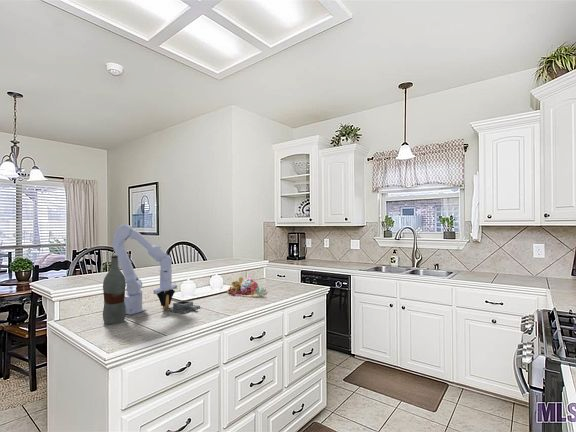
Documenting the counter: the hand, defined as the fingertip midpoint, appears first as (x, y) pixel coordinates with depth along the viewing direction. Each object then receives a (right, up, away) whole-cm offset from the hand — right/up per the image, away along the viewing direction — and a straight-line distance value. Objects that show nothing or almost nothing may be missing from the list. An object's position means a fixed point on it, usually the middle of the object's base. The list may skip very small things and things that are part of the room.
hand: (165, 305), depth 171 cm
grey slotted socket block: (+9, -2, -1) cm, 10 cm away
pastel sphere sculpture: (+38, -3, +38) cm, 54 cm away
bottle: (-15, -2, -22) cm, 27 cm away
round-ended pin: (0, -2, 0) cm, 2 cm away
